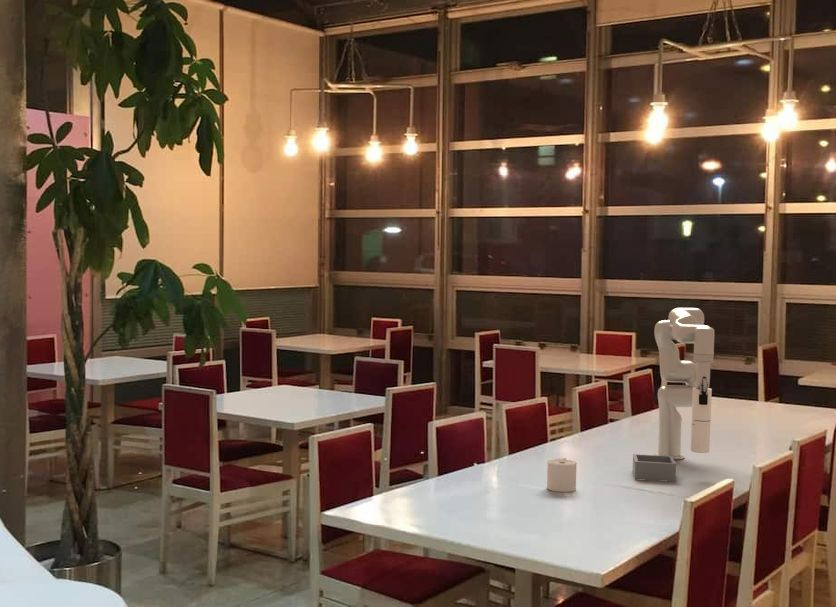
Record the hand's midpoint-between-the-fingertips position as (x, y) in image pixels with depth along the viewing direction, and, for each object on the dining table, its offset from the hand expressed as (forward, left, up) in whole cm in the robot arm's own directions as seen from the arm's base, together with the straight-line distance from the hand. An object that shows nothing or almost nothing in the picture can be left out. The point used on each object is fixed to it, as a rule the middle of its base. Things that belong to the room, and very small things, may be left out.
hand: (701, 402), depth 375 cm
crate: (+2, -18, -30) cm, 35 cm away
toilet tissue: (+32, -54, -30) cm, 70 cm away
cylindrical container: (0, 0, -20) cm, 20 cm away
